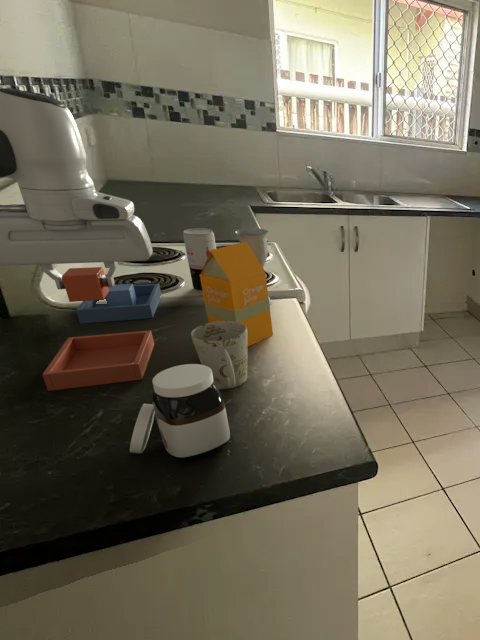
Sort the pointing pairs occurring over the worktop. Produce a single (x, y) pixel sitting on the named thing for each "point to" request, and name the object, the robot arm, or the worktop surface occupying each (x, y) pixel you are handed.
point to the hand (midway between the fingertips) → (87, 287)
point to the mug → (223, 351)
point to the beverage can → (198, 252)
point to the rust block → (84, 284)
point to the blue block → (121, 295)
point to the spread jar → (184, 413)
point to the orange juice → (237, 290)
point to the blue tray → (122, 307)
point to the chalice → (255, 243)
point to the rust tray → (100, 360)
